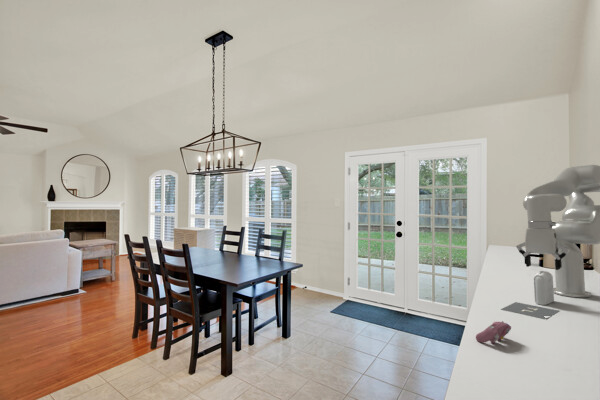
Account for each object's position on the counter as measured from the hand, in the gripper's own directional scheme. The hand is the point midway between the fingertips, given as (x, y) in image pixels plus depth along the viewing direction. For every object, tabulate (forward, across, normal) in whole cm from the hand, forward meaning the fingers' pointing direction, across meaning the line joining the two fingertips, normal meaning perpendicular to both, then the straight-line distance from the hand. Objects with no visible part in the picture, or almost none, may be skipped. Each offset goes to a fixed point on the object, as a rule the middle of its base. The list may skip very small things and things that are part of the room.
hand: (542, 267), depth 123 cm
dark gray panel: (+13, 0, +16) cm, 21 cm away
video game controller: (+12, -4, +54) cm, 56 cm away
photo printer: (+14, 0, +1) cm, 14 cm away
